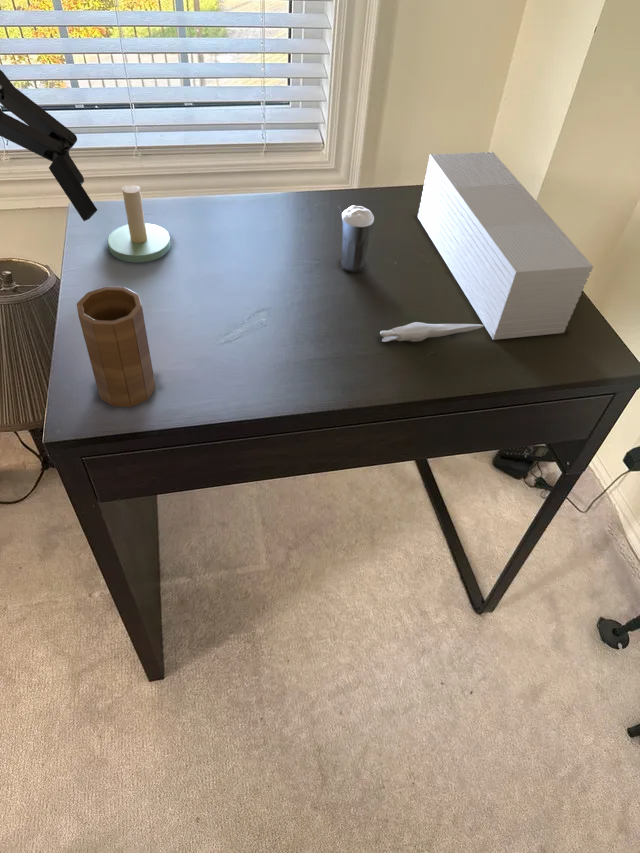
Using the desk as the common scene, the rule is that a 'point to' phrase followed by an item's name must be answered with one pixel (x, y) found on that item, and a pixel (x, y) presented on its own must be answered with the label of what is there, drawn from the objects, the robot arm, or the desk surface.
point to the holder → (137, 233)
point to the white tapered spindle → (425, 331)
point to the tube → (117, 345)
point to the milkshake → (355, 236)
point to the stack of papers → (501, 246)
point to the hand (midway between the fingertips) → (39, 240)
